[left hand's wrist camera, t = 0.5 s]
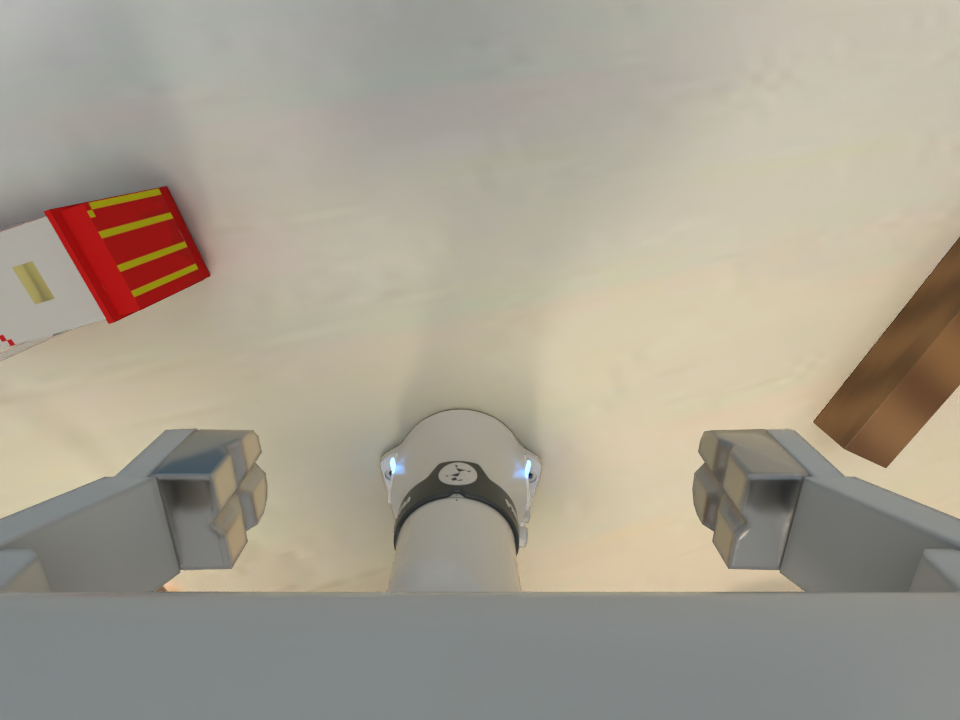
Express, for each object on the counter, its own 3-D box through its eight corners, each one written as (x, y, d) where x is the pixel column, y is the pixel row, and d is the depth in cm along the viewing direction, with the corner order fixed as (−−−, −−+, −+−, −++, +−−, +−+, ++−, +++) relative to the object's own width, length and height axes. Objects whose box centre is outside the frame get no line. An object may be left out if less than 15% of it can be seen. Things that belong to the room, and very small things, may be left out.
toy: (-213, 281, 46) (61, 183, 39) (-53, 245, 58) (178, 165, 51) (-115, 404, 51) (146, 335, 44) (14, 347, 63) (235, 286, 56)
